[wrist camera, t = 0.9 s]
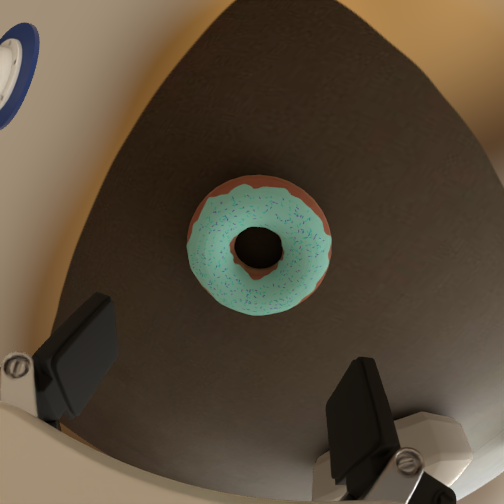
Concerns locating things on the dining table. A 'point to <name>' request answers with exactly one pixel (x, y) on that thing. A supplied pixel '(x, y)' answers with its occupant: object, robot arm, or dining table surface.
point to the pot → (420, 438)
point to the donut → (273, 218)
